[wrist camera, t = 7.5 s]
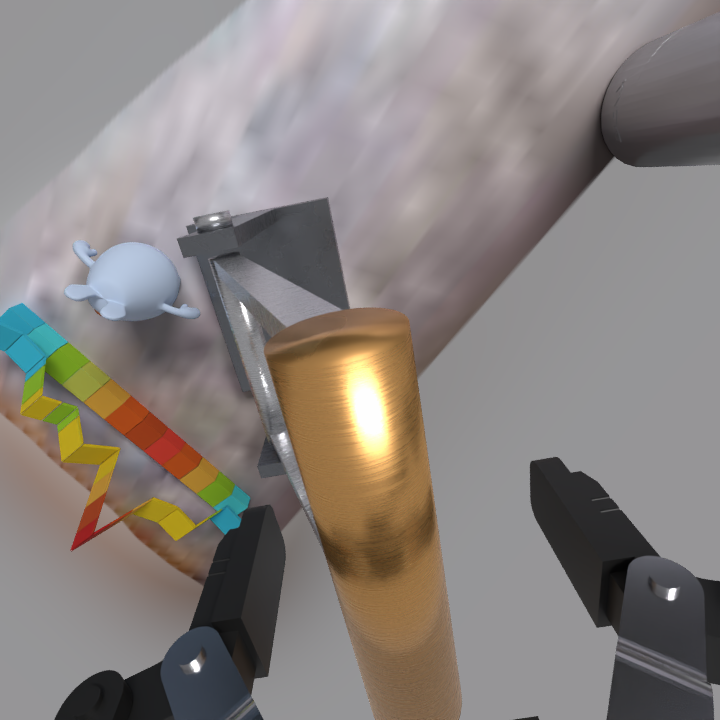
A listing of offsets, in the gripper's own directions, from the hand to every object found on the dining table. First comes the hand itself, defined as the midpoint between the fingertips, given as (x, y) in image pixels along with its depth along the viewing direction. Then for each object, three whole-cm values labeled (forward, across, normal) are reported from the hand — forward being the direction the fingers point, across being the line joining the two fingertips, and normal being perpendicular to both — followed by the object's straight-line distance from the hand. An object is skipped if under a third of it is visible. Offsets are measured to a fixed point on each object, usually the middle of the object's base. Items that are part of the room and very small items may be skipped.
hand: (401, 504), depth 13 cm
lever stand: (+29, +8, 0) cm, 30 cm away
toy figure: (+29, +18, -5) cm, 34 cm away
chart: (+29, +26, +10) cm, 41 cm away
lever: (+15, +8, 0) cm, 17 cm away
